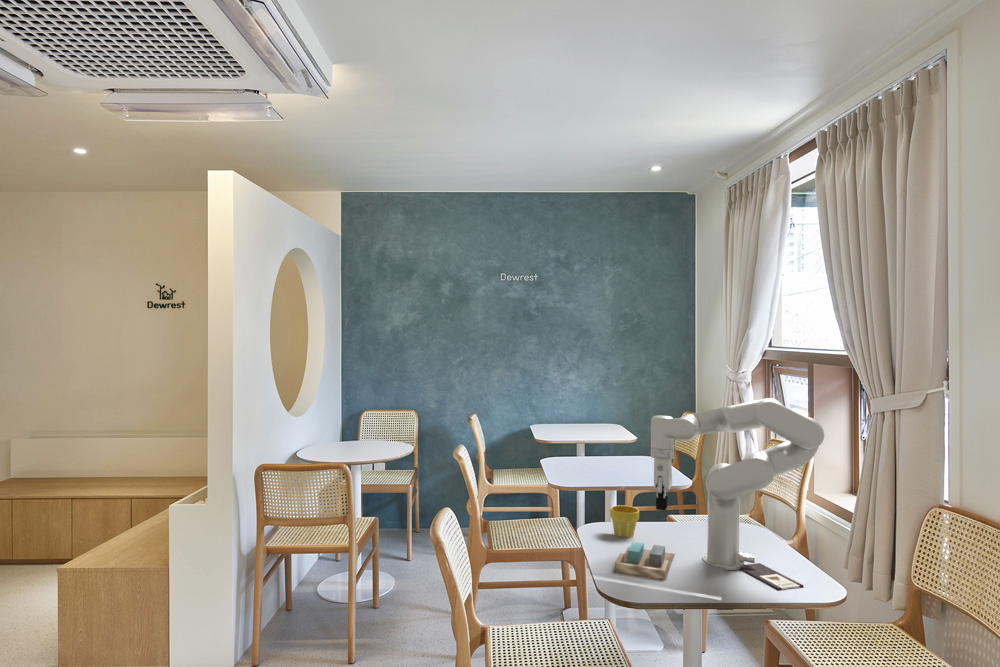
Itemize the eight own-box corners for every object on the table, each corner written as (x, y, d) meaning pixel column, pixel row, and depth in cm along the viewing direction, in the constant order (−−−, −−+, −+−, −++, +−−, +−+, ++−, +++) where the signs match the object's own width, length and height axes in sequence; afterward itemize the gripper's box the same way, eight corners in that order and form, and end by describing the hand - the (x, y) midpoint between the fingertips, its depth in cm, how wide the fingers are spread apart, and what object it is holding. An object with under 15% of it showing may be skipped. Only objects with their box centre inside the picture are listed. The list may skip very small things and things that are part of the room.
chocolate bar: (759, 563, 190) (803, 585, 172) (759, 566, 190) (803, 588, 172) (735, 565, 187) (777, 588, 170) (735, 568, 187) (777, 591, 170)
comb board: (674, 556, 196) (675, 546, 196) (665, 583, 174) (665, 572, 174) (628, 549, 202) (628, 540, 202) (613, 574, 179) (613, 563, 179)
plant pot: (643, 535, 217) (643, 508, 217) (631, 542, 209) (631, 514, 209) (617, 529, 223) (617, 503, 223) (604, 536, 215) (605, 509, 215)
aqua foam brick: (643, 554, 195) (643, 543, 195) (639, 563, 187) (639, 552, 187) (632, 552, 197) (632, 541, 197) (627, 561, 188) (627, 550, 188)
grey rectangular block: (665, 557, 193) (665, 546, 193) (661, 566, 184) (661, 555, 184) (653, 555, 194) (653, 544, 194) (649, 564, 186) (649, 553, 186)
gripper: (671, 458, 190) (670, 516, 189) (676, 450, 205) (676, 503, 204) (647, 456, 192) (646, 513, 192) (654, 448, 207) (653, 501, 207)
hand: (661, 507), depth 198 cm, fingers open, 2 cm apart
